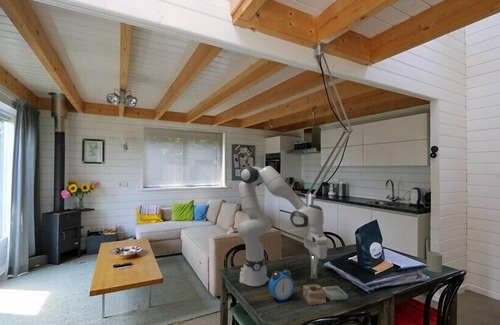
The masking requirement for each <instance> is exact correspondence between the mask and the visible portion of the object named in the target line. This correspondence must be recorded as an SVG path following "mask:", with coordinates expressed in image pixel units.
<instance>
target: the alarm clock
mask: <svg viewBox="0 0 500 325" xmlns="http://www.w3.org/2000/svg"><path fill="white" fill-rule="evenodd" d="M291 272H292V271H290V270H289V269H283V270H282V271H278V270H275V271H273V272H272V273H271V277H270V278H269V281H268V291H269V292H270V294H271V295H272V296H273V297H274V298H275V299H276V300H277V302H279V301H282V302H283V301H285V300H287V299H288V300H289V299H290V297H291V296H292V295H293V293H294V290H295V282H294V280H293V278H292V277H291V276H292V273H291Z"/></svg>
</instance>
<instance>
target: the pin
mask: <svg viewBox="0 0 500 325" xmlns="http://www.w3.org/2000/svg"><path fill="white" fill-rule="evenodd" d="M314 259H315V255H314V254H313V253H312V252H311V259H310V260H311V261H310V278H311V280H317V279H318V263H315V262H314Z"/></svg>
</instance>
